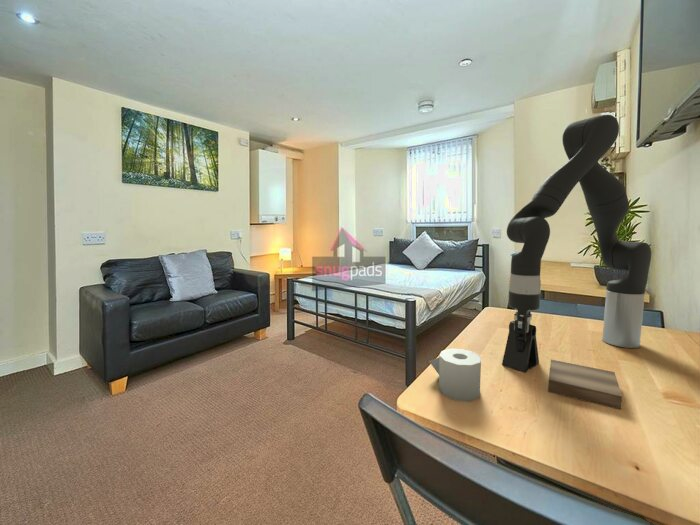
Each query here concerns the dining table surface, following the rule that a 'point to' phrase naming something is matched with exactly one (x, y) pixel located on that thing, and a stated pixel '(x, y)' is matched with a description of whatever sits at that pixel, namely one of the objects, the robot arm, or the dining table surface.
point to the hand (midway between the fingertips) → (521, 349)
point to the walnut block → (585, 384)
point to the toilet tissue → (458, 374)
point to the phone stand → (521, 359)
